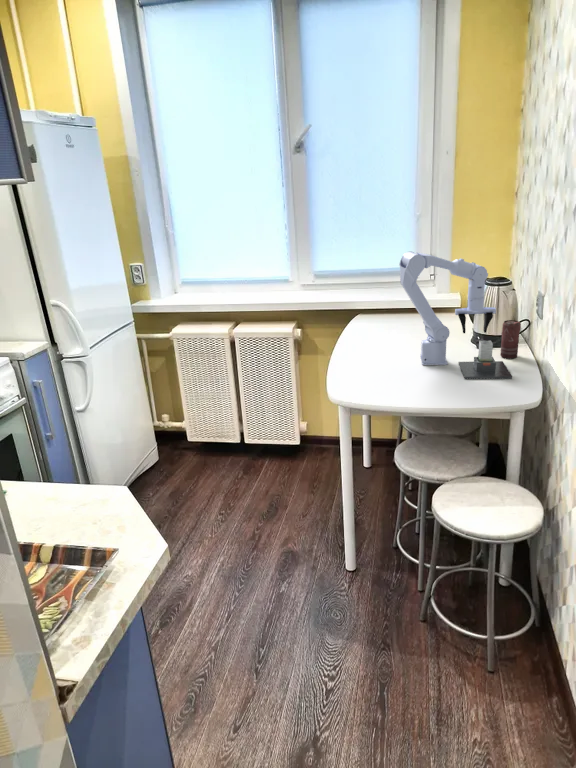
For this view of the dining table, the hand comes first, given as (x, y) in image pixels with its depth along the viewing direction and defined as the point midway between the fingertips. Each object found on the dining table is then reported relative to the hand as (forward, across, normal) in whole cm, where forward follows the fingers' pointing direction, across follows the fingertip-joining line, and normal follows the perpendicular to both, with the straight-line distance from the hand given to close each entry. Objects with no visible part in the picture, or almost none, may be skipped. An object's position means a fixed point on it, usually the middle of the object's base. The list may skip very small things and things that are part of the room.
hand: (474, 332), depth 215 cm
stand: (+10, +2, -15) cm, 18 cm away
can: (+11, +14, +1) cm, 17 cm away
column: (+7, +2, -15) cm, 17 cm away
